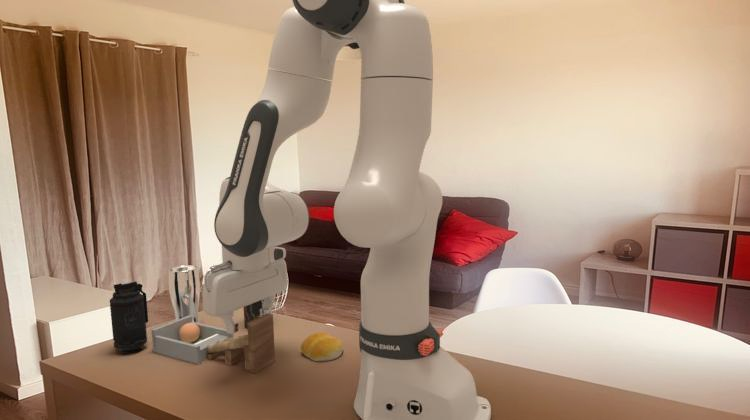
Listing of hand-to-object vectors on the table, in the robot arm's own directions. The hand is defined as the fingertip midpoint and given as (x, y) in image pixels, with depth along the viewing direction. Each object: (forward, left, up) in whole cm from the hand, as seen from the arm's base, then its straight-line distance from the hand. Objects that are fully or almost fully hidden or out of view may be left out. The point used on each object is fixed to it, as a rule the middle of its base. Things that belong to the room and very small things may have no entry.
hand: (249, 324), depth 99 cm
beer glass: (+28, -8, -8) cm, 30 cm away
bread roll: (-9, -11, -9) cm, 17 cm away
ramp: (+4, 0, -8) cm, 9 cm away
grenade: (+29, +6, -8) cm, 31 cm away
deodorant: (+14, -17, -8) cm, 24 cm away
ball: (+20, -2, -6) cm, 21 cm away
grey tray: (+17, 0, -8) cm, 18 cm away
